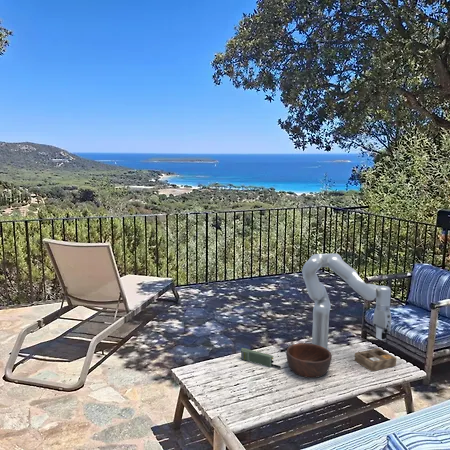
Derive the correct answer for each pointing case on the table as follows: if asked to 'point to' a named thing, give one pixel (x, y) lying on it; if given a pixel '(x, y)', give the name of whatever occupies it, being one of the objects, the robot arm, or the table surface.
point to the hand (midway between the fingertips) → (380, 337)
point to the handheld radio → (258, 357)
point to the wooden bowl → (308, 359)
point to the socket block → (375, 359)
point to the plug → (379, 332)
